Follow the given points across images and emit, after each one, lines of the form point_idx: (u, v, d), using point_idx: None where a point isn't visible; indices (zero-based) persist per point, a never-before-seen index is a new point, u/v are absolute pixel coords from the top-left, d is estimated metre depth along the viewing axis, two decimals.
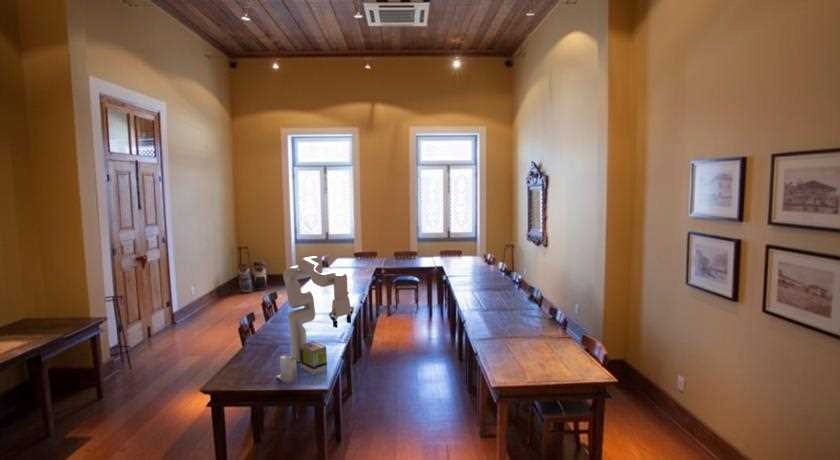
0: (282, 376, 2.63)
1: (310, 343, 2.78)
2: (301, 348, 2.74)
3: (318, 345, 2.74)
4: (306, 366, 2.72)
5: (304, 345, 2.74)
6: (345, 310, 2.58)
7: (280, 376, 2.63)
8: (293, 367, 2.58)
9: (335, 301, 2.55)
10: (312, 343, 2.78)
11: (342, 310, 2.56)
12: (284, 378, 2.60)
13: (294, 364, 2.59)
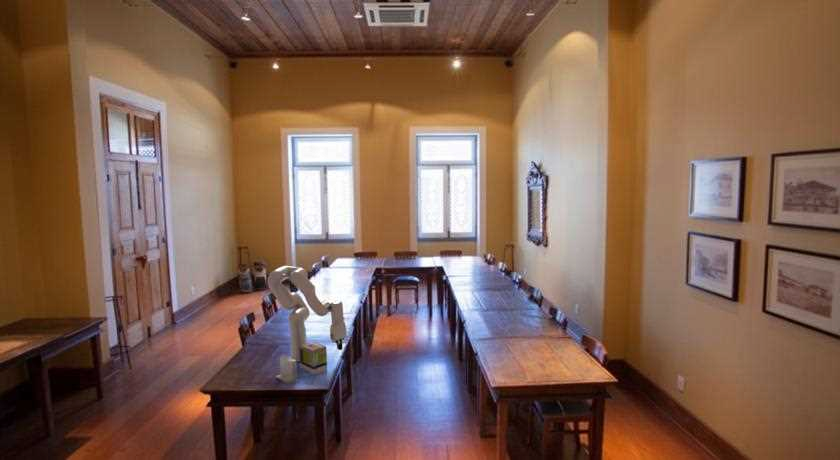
0: (282, 376, 2.63)
1: (310, 343, 2.78)
2: (301, 348, 2.74)
3: (318, 345, 2.74)
4: (306, 366, 2.72)
5: (304, 345, 2.74)
6: (342, 334, 2.87)
7: (280, 376, 2.63)
8: (293, 367, 2.58)
9: (332, 326, 2.83)
10: (312, 343, 2.78)
11: (339, 334, 2.85)
12: (284, 378, 2.60)
13: (294, 364, 2.59)
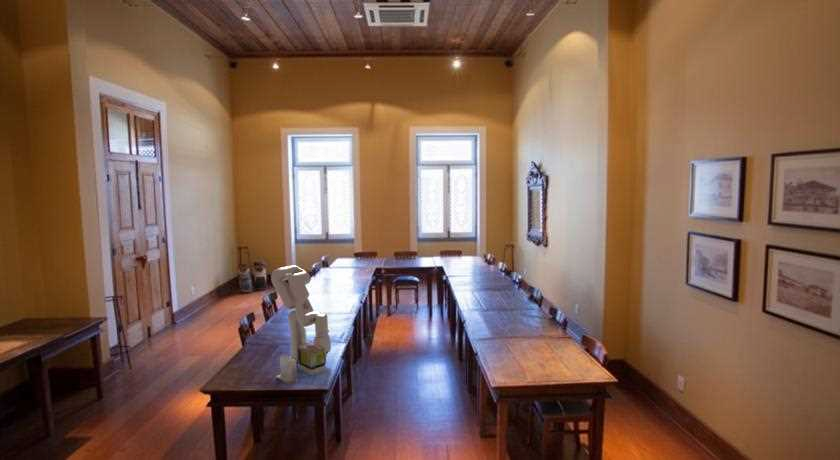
0: (282, 376, 2.63)
1: (308, 343, 2.77)
2: (299, 349, 2.73)
3: (316, 346, 2.73)
4: (304, 367, 2.71)
5: (302, 346, 2.73)
6: (326, 347, 2.79)
7: (280, 376, 2.63)
8: (293, 367, 2.58)
9: (316, 340, 2.75)
10: (310, 344, 2.77)
11: None
12: (284, 378, 2.60)
13: (294, 364, 2.59)
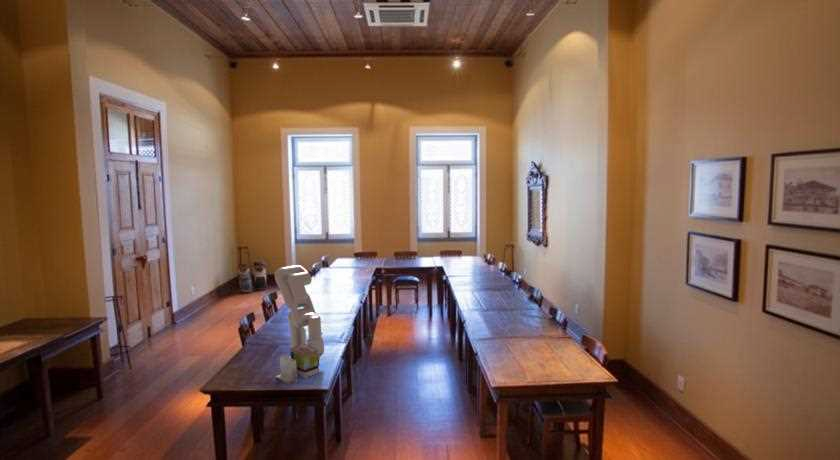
0: (282, 376, 2.63)
1: (301, 346, 2.73)
2: (292, 351, 2.70)
3: (309, 348, 2.69)
4: (297, 369, 2.67)
5: (295, 348, 2.70)
6: (319, 350, 2.75)
7: (280, 376, 2.63)
8: (293, 367, 2.58)
9: (309, 342, 2.71)
10: (303, 346, 2.73)
11: None
12: (284, 378, 2.60)
13: (294, 364, 2.59)
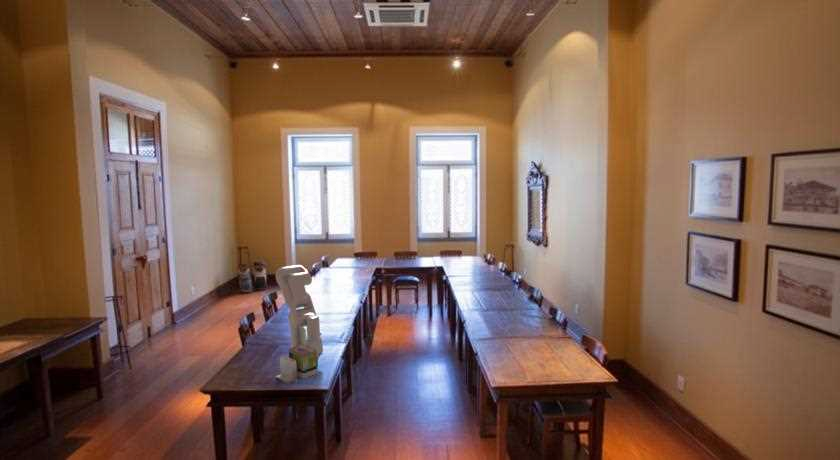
0: (282, 376, 2.63)
1: (300, 347, 2.72)
2: (290, 352, 2.69)
3: (308, 349, 2.69)
4: None
5: (293, 349, 2.69)
6: (317, 350, 2.74)
7: (280, 376, 2.63)
8: (293, 367, 2.58)
9: (308, 342, 2.71)
10: (302, 347, 2.72)
11: None
12: (284, 378, 2.60)
13: (294, 364, 2.59)
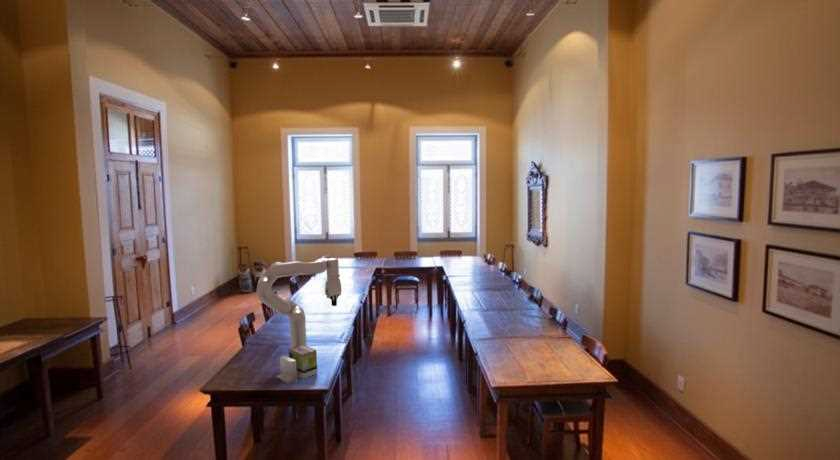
0: (282, 376, 2.63)
1: (299, 347, 2.72)
2: (290, 352, 2.69)
3: (308, 349, 2.69)
4: None
5: (293, 349, 2.69)
6: (337, 290, 2.94)
7: (280, 376, 2.63)
8: (293, 367, 2.58)
9: (328, 282, 2.90)
10: (302, 347, 2.72)
11: (333, 290, 2.92)
12: (284, 378, 2.60)
13: (294, 364, 2.59)
